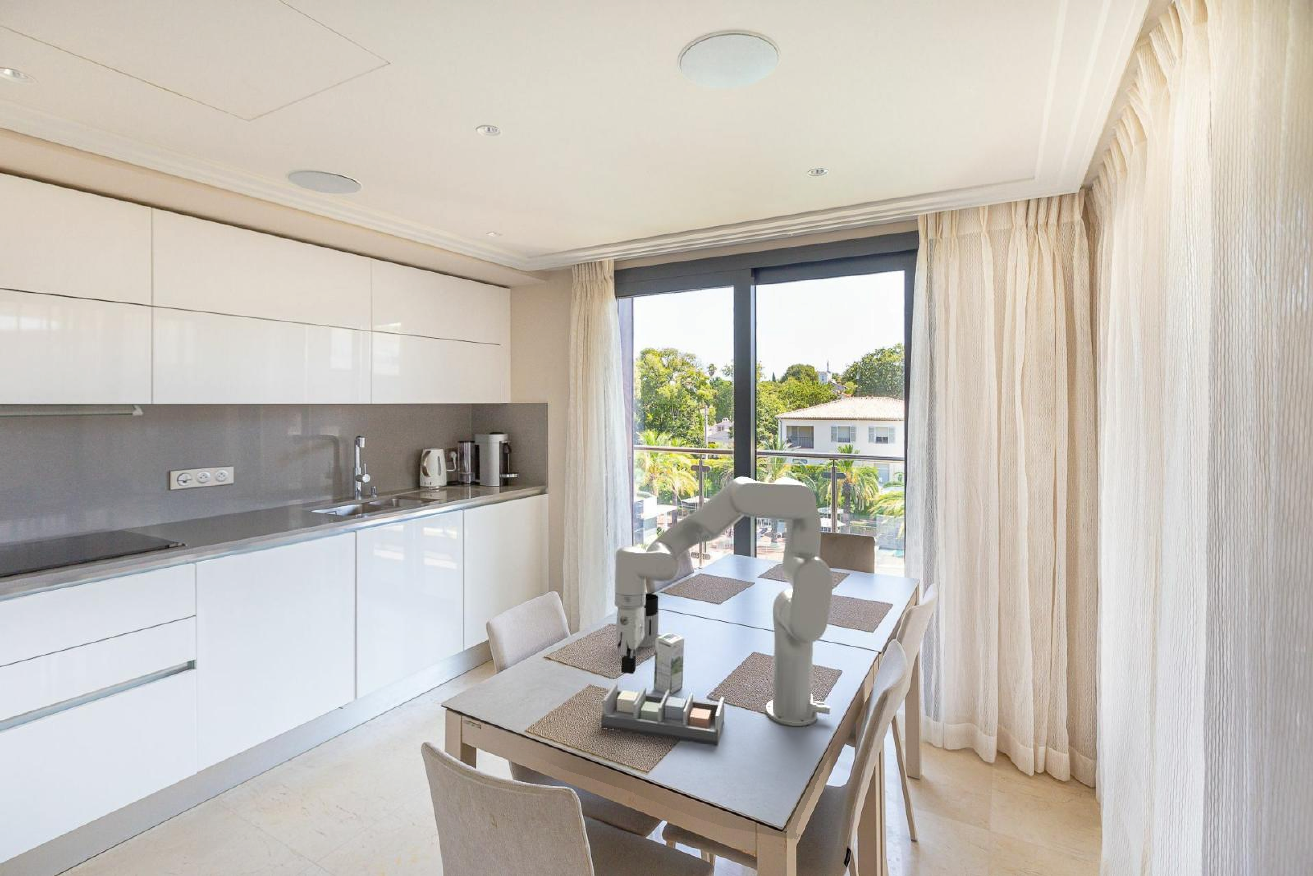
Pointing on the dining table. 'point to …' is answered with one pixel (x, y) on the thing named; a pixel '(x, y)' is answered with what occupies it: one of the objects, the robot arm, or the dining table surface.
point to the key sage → (650, 711)
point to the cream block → (626, 701)
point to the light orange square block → (700, 718)
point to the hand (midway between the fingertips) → (628, 671)
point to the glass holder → (650, 621)
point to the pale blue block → (675, 708)
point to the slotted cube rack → (663, 718)
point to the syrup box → (668, 663)
